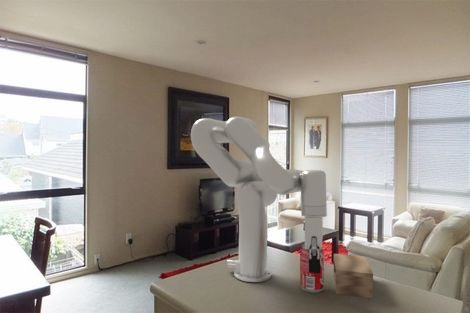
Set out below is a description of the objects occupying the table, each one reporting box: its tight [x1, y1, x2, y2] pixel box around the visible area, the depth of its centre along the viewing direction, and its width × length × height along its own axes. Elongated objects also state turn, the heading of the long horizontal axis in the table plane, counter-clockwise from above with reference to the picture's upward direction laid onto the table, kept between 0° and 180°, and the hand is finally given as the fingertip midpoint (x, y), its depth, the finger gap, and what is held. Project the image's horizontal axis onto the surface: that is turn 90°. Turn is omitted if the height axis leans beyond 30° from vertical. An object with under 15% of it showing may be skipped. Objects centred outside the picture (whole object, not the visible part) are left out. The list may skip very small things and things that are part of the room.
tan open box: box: [332, 253, 374, 299], centre depth 98 cm, size 10×16×7 cm, turn 165°
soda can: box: [299, 243, 325, 294], centre depth 95 cm, size 7×7×13 cm
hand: (314, 267), depth 94 cm, fingers open, 9 cm apart
